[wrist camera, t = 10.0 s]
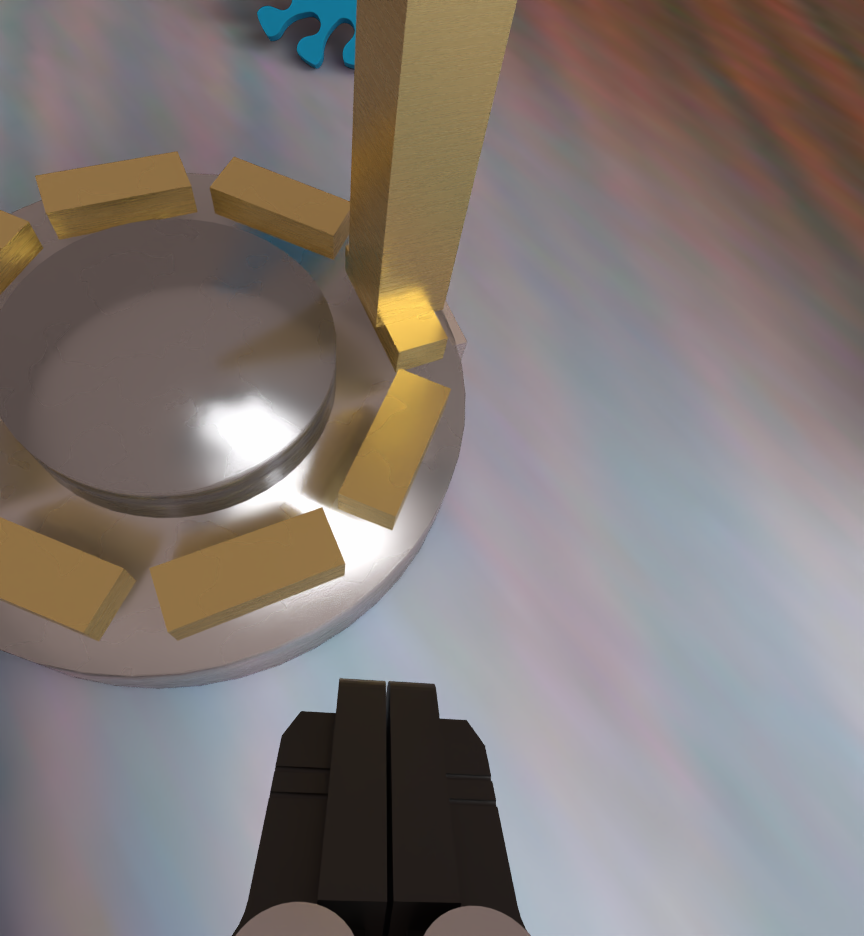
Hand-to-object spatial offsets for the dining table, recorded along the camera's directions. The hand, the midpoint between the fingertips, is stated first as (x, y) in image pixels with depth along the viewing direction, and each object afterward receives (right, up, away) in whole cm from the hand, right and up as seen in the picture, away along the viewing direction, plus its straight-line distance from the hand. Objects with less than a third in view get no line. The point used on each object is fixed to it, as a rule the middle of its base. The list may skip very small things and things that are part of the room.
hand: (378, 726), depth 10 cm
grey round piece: (-8, +6, +14) cm, 17 cm away
